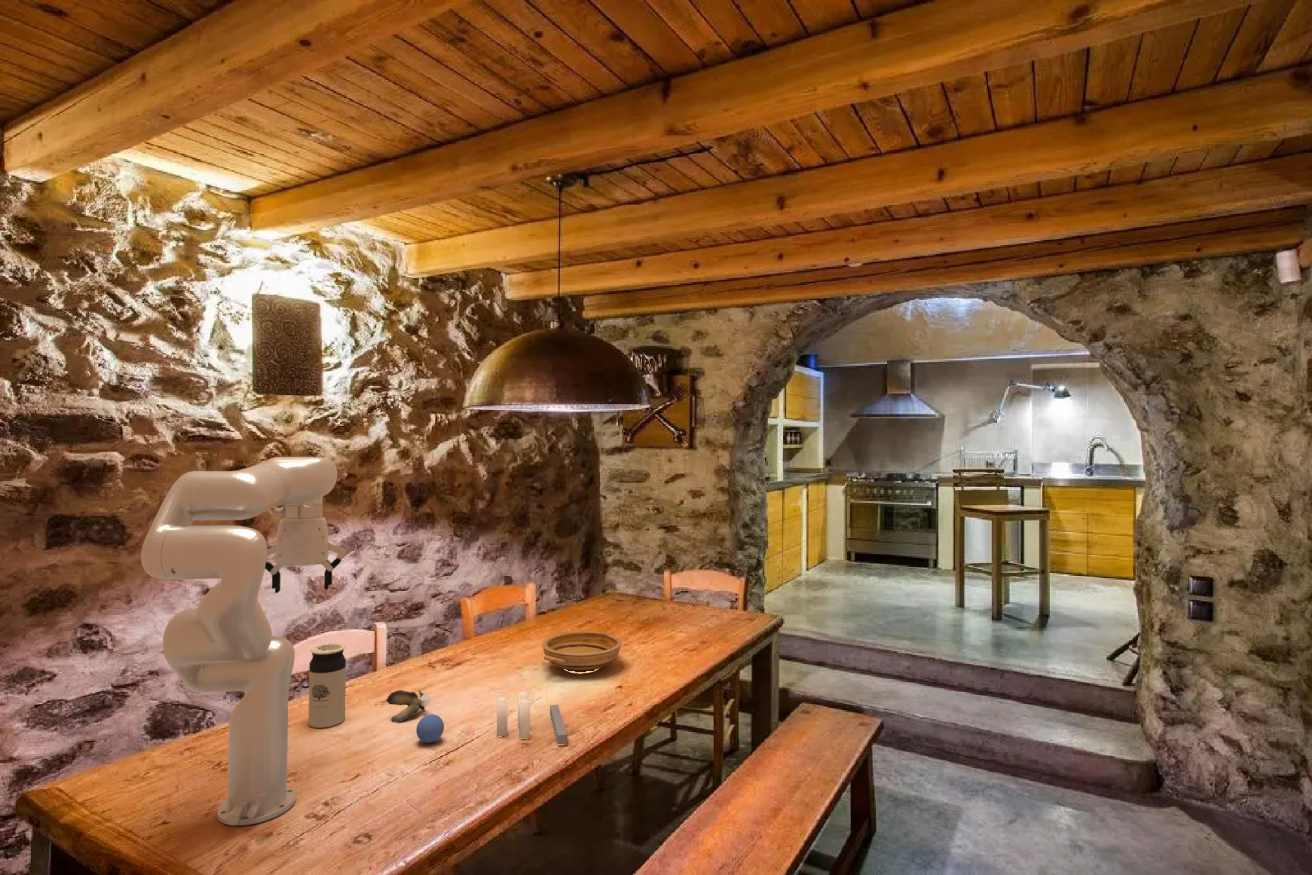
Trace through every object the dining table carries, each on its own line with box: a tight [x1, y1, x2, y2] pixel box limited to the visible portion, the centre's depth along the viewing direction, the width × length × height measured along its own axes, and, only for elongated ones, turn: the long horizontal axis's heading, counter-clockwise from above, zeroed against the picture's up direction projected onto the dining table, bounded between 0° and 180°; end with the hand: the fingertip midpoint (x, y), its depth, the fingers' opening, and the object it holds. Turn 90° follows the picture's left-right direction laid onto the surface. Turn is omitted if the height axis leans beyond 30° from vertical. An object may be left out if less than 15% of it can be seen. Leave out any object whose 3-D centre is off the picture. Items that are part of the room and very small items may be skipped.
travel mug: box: [308, 643, 347, 729], centre depth 165 cm, size 8×8×18 cm
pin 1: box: [517, 690, 530, 729], centre depth 162 cm, size 2×2×8 cm
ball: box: [415, 714, 445, 744], centre depth 155 cm, size 6×6×6 cm
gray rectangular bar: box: [549, 704, 568, 744], centre depth 162 cm, size 18×2×2 cm, turn 15°
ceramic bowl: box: [541, 630, 623, 672], centre depth 207 cm, size 30×24×8 cm
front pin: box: [496, 696, 509, 737], centre depth 159 cm, size 2×2×8 cm
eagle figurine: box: [385, 689, 431, 723], centre depth 169 cm, size 8×7×9 cm
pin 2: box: [518, 699, 531, 739], centre depth 158 cm, size 2×2×8 cm
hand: (302, 590), depth 150 cm, fingers open, 9 cm apart
